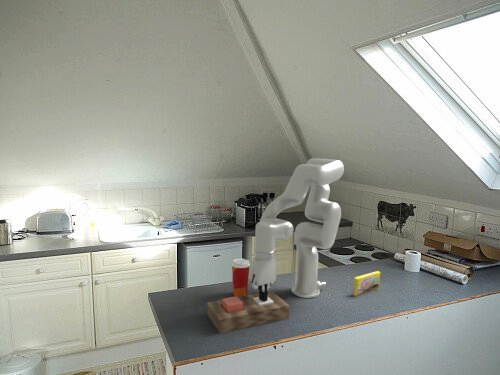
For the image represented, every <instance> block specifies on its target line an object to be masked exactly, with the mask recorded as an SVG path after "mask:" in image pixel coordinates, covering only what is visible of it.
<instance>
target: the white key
mask: <svg viewBox="0 0 500 375" xmlns="http://www.w3.org/2000/svg"><path fill="white" fill-rule="evenodd" d="M253 301H254V302H255V303H256V304H257V305H258V306H259V307H260V306H265V305H270V304H274V301H272V300H271V299H270V298H269V297H268V300H267V301H265V302H264V301H262V300H260V299H259V297H256V298H253Z"/></svg>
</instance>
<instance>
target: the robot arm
mask: <svg viewBox="0 0 500 375" xmlns="http://www.w3.org/2000/svg"><path fill="white" fill-rule="evenodd" d="M344 168H345V166H344V164H343V162H342V161H341V160H339V159H334V158H333V159H330V158H316V157H315V158H310V159H308V160H307V161H306V163H302V164H299V165H297V166H296V167H295V169H294V170H293V174H292V176H291V177H290V180H289V182H288V183H287V185H286V187H285V190H284V191H283V193H282V194H281V195H279V196H278V197H276V198H275V199H273V200H272V201H271V202H270V203H269V204H267V206H266V207H265V209H264V211H263V213H262V216H261V217H260V219H259V222H257V223H256V224H255V236H254V237H255V241H254V242H255V243H254V257H253V258H252V261H251V265H250V273H249V274H250V277H249V281H250V282H249V283H252V286H251V288H252V289H254V290H258V293H259V299H260V300H262V301H264V302H265V301H267V300H268V292H269V291H270V287H271V285H272V284H274V283H275V282H276V280H277V261H276V256H275V253H276V241H283V240H285V241H286V240H288V239H290V238H291V237H292V236H293V233H294V238H295V243H296V244H295V246H296V258H295V277H294V281H295V282H294V283H295V284H294V285H293V286H292V287H291V293H292V294H293V295H295V296H296V297H300V298H305V299H313V298H316V297H319V295H321V294H320V293H321V290H320V288H321V287H325V286H327V285H326V281H322V282H321V281H320V280H318V267H319V253H318V252H319V251H318V249H323V250H329V249H331V248H332V246H333V245H334V244H335V240H336V237H337V234H338V229H339V225H340V222H341V219H342V209H341V206H340V205H339V204H338V203H337V202H334V201H330V200H329V198H330V193H331V189H330V188H331V187H330V184H332V183H334V182H336V181H339V180H340V179H341V177H342V176H343V174H344V172H345V169H344ZM309 189H310V191H309ZM308 191H309V193H308ZM307 194H309V195H308V198H307V200H306V201H307V202H306V205H305V208H304V209H305V210H304V216H305V217H306V218H307V219H308V220H311V221H314V222H318V223H323V225H321V224H318V223H313V222H309V221H304V222H303V221H302V222H300V223H299V224H297V225H296V227H295V228H294V225H293V224H292V223H291V222H290V221H288V220H284V219H280V218H277V216H278V215H279V214H280V213H281V212H282V211H284V210H286V209H289V208H293V207H296V206H299V205H301V204H303V203H304V200H305V198H306V196H307ZM317 248H318V249H317Z"/></svg>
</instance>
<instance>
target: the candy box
mask: <svg viewBox="0 0 500 375" xmlns="http://www.w3.org/2000/svg"><path fill="white" fill-rule="evenodd" d="M381 274H382V273H381V272H380V271H379V270H377V271H373V272H369V273H366V274H362V275H358V276H355V277H354V278H353V279H354V280H353V287H352V289H353V290H352V296H354V297H358V296H360V295H363V294H367V293H370V292H372V291H376V290H378V289H380V280H381Z"/></svg>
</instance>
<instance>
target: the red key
mask: <svg viewBox="0 0 500 375" xmlns="http://www.w3.org/2000/svg"><path fill="white" fill-rule="evenodd" d="M221 300H222V307H223V308H224V310H225V311H226V312H227V313H230V312H235V311H240V310H243V302H242V301H241V300H240V299H239V298H238V297H237V296H231V297H227V298H226V297H225V298H222V299H221Z"/></svg>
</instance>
